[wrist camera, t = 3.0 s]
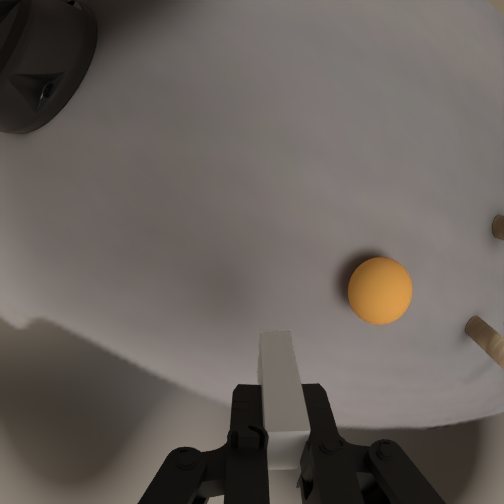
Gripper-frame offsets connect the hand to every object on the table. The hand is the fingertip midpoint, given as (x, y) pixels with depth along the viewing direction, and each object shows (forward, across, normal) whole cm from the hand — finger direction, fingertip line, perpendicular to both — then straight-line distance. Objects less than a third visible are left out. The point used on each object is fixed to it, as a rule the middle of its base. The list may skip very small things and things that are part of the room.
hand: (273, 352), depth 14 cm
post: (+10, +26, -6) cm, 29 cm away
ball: (+7, +9, 0) cm, 12 cm away
